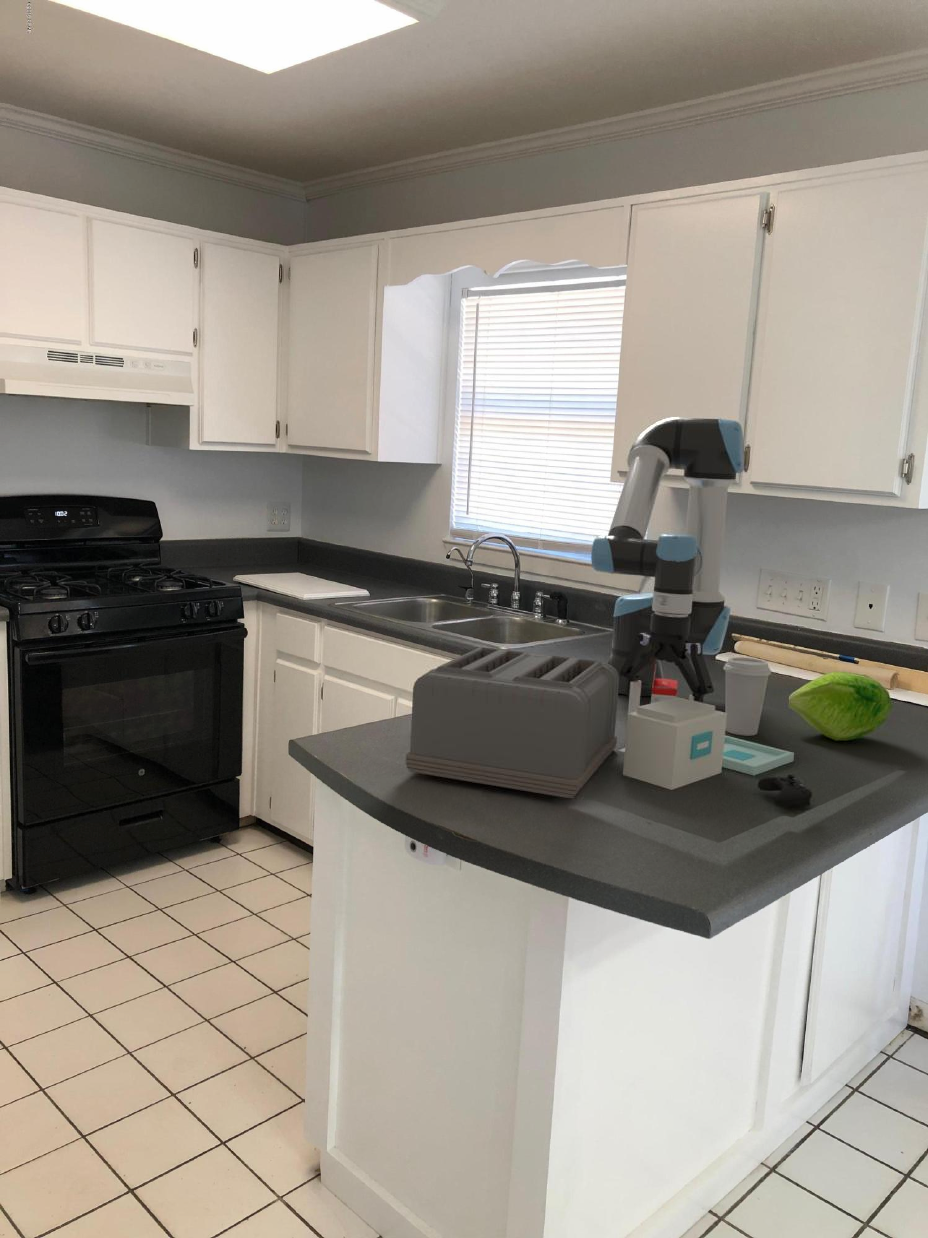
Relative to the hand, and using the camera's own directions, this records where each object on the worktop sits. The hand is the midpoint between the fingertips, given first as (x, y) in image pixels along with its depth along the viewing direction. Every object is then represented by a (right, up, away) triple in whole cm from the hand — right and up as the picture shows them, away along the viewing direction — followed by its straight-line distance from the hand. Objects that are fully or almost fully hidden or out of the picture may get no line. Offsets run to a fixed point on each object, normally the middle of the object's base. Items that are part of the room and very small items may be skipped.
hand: (661, 720), depth 201 cm
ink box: (0, -4, +1) cm, 4 cm away
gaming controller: (+12, -11, -33) cm, 37 cm away
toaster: (-29, -6, -15) cm, 33 cm away
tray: (+13, -6, -9) cm, 17 cm away
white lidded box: (-3, -7, -20) cm, 22 cm away
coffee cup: (+19, -4, +12) cm, 22 cm away
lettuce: (+39, -5, +12) cm, 41 cm away
